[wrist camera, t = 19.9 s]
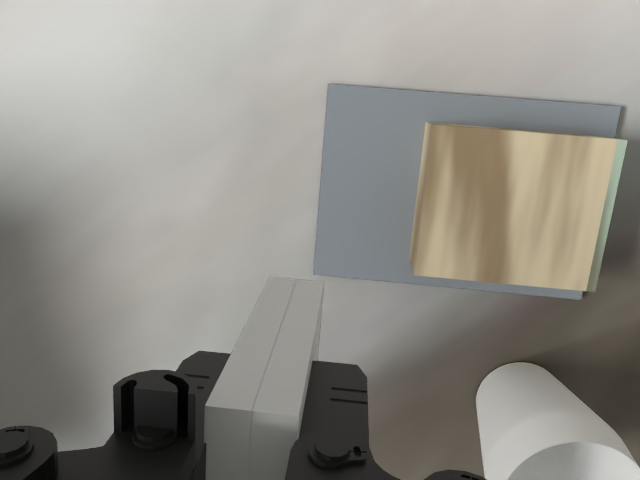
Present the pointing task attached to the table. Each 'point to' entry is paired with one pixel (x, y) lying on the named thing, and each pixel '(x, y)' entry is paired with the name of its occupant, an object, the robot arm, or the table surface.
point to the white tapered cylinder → (544, 431)
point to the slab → (514, 205)
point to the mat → (411, 173)
